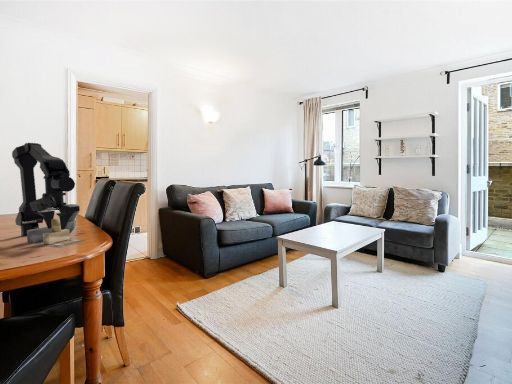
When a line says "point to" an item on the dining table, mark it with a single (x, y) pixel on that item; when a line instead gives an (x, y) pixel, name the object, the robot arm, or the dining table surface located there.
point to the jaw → (56, 233)
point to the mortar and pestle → (72, 222)
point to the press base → (37, 238)
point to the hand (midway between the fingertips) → (56, 229)
